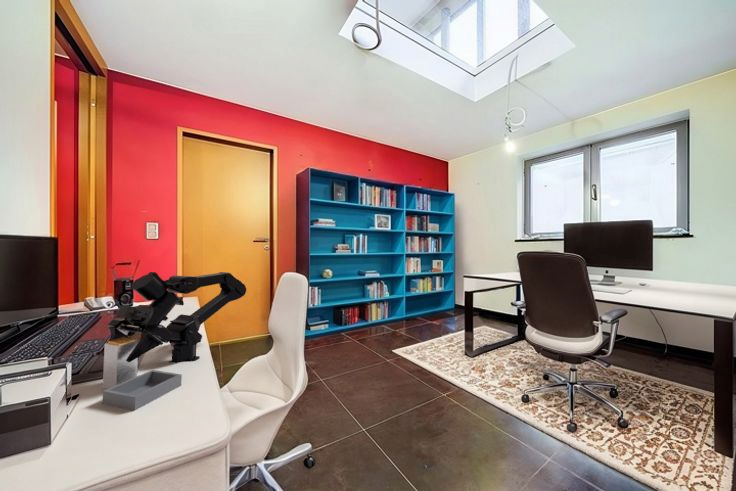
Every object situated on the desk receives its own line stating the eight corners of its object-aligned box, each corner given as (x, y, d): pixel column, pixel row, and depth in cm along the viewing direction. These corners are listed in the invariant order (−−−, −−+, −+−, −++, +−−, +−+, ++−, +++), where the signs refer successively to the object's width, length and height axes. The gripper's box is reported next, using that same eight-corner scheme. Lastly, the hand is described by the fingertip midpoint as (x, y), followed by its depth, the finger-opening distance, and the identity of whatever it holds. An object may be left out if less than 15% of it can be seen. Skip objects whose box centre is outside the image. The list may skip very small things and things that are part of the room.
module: (124, 380, 77) (125, 335, 78) (136, 383, 76) (138, 338, 76) (102, 388, 73) (104, 341, 73) (115, 392, 71) (117, 343, 71)
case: (152, 383, 77) (152, 369, 77) (181, 389, 75) (181, 374, 75) (102, 407, 65) (102, 391, 65) (134, 414, 63) (135, 397, 63)
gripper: (116, 291, 81) (65, 340, 70) (163, 296, 76) (115, 349, 65) (143, 312, 88) (101, 359, 78) (188, 317, 83) (149, 369, 73)
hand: (115, 359), depth 73 cm, fingers open, 9 cm apart
